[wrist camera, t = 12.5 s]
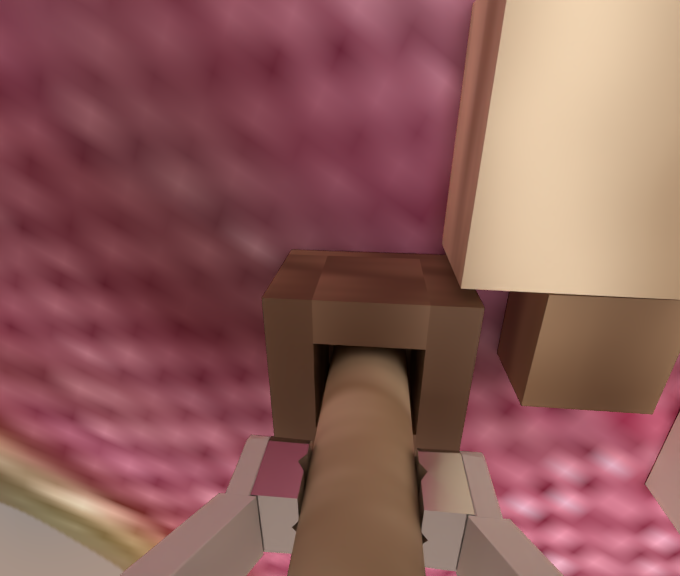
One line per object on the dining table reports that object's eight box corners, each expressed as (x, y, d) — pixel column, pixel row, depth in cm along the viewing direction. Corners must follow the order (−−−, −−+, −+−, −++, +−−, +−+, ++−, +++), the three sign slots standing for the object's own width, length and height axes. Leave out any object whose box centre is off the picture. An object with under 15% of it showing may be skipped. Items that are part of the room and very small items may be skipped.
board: (440, 241, 14) (460, 288, 11) (470, 5, 11) (512, -41, 8) (740, 253, 13) (872, 309, 10) (858, 3, 10) (1111, -49, 7)
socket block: (298, 381, 17) (275, 455, 13) (291, 249, 14) (261, 298, 11) (439, 389, 17) (455, 469, 13) (458, 255, 14) (484, 308, 10)
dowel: (337, 356, 16) (276, 697, 7) (337, 300, 15) (264, 616, 6) (401, 360, 15) (426, 718, 6) (405, 303, 14) (443, 636, 5)
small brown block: (496, 352, 16) (521, 405, 13) (516, 257, 14) (549, 294, 11) (603, 358, 15) (652, 414, 12) (637, 261, 13) (702, 301, 11)
